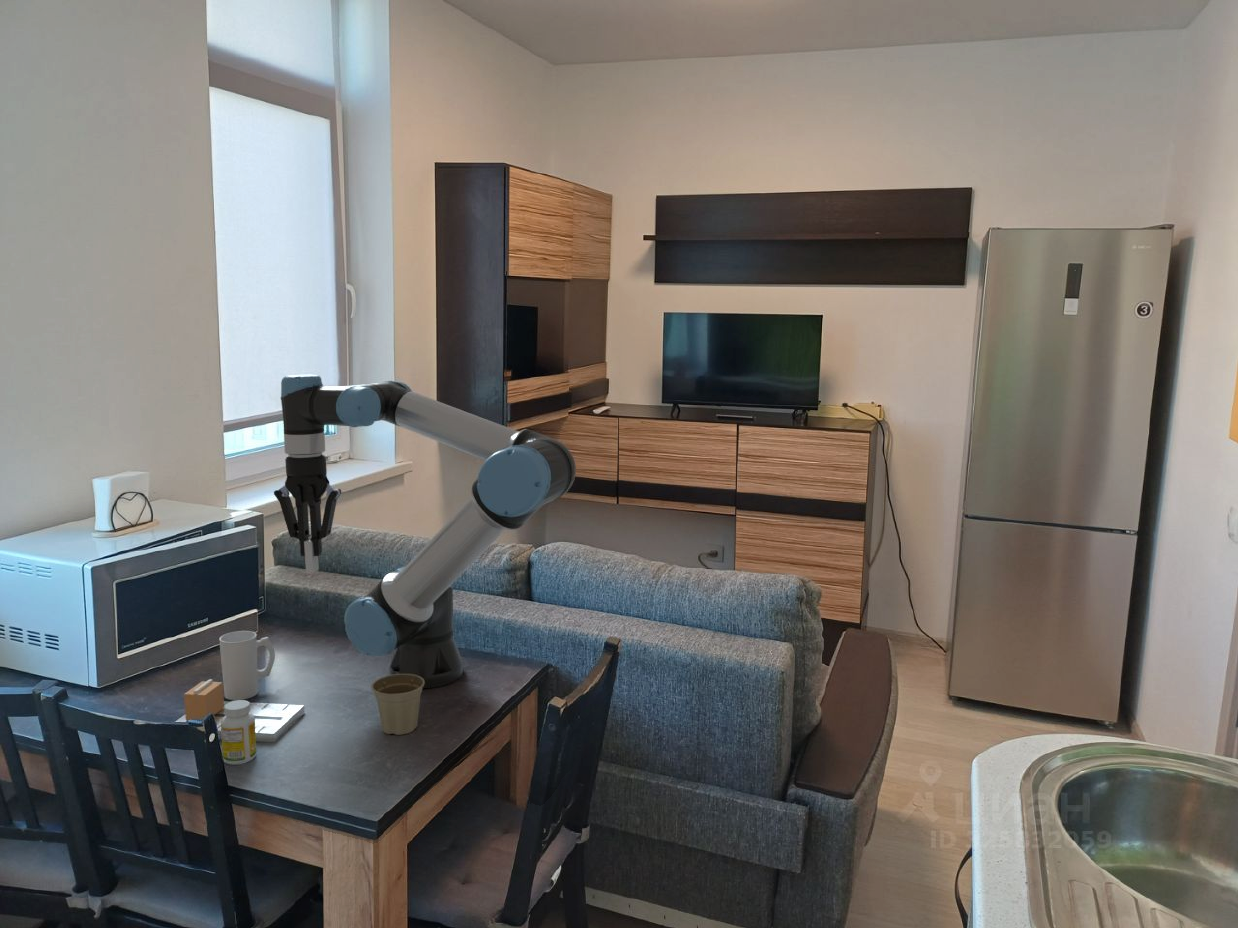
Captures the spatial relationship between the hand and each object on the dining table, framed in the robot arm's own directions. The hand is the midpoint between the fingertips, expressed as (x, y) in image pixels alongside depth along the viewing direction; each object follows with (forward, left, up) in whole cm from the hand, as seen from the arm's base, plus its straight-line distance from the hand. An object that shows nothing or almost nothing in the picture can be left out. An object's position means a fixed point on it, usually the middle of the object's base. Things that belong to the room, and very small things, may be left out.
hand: (312, 571), depth 182 cm
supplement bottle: (0, +30, -24) cm, 39 cm away
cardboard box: (+13, +18, -22) cm, 32 cm away
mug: (+12, +4, -24) cm, 28 cm away
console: (+7, +18, -24) cm, 31 cm away
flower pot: (-23, +16, -24) cm, 37 cm away
